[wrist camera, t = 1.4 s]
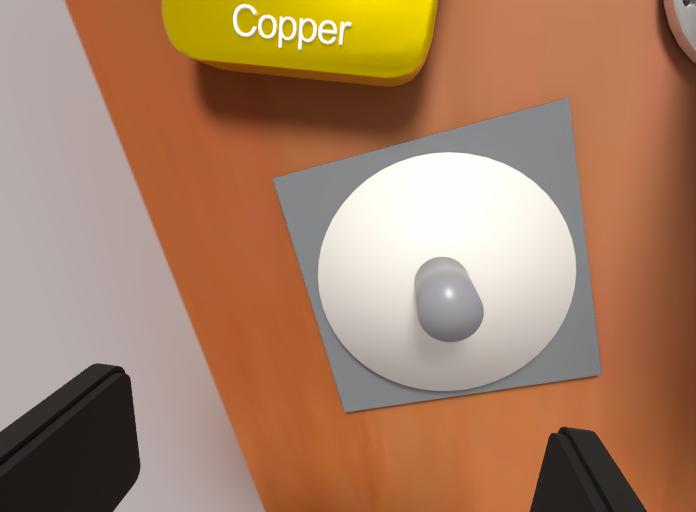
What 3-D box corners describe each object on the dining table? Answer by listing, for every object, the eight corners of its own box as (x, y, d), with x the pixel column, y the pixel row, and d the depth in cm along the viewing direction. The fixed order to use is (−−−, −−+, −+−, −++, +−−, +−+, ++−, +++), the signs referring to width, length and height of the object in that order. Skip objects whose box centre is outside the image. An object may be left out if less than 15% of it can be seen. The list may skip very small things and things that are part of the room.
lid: (584, 364, 28) (630, 419, 23) (353, 399, 31) (344, 455, 26) (553, 119, 24) (598, 114, 18) (290, 189, 27) (262, 202, 22)
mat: (598, 370, 29) (601, 374, 28) (345, 408, 32) (344, 412, 32) (565, 98, 24) (569, 97, 24) (274, 177, 28) (272, 178, 27)
